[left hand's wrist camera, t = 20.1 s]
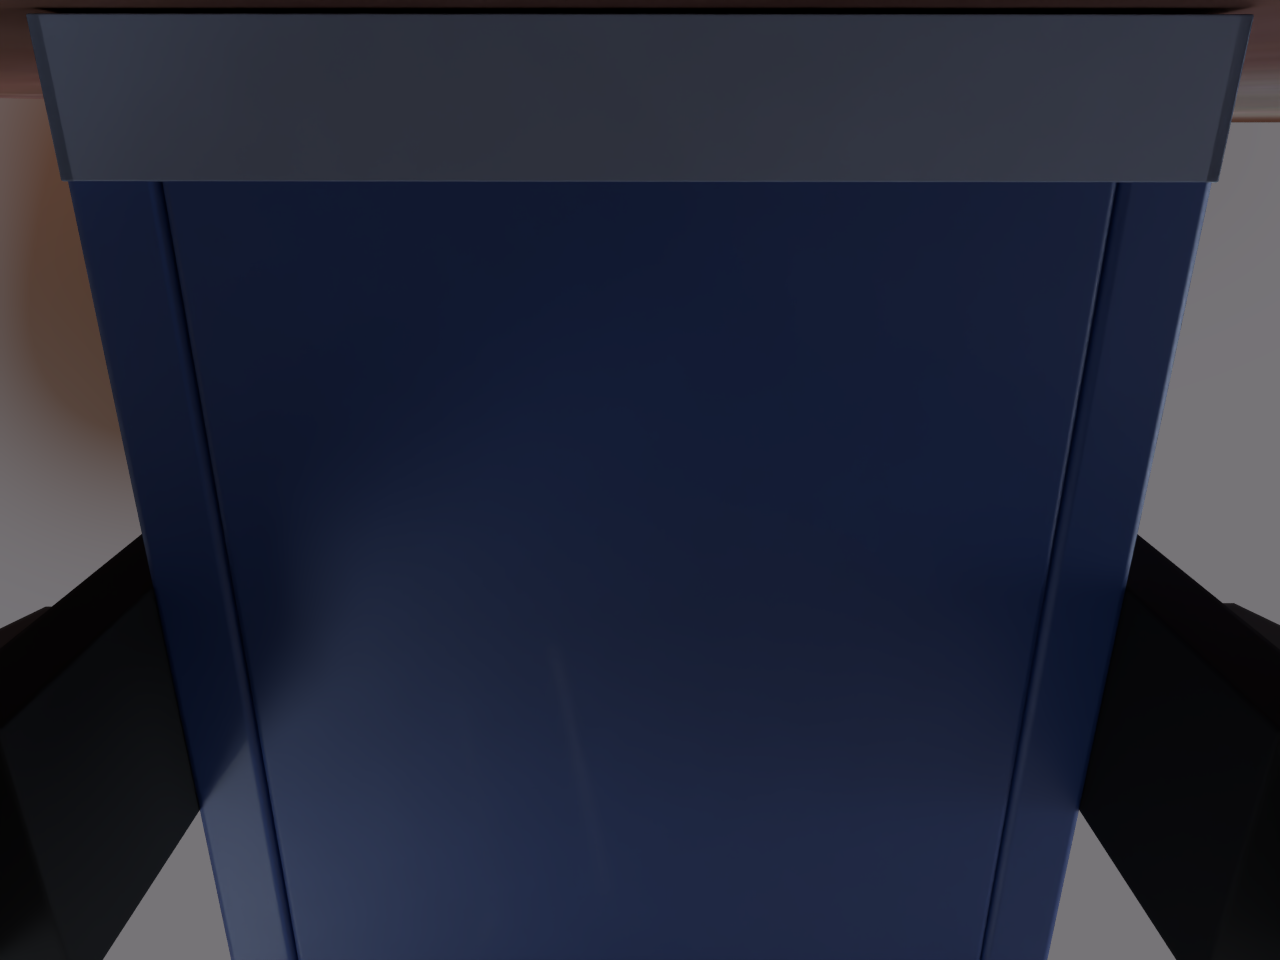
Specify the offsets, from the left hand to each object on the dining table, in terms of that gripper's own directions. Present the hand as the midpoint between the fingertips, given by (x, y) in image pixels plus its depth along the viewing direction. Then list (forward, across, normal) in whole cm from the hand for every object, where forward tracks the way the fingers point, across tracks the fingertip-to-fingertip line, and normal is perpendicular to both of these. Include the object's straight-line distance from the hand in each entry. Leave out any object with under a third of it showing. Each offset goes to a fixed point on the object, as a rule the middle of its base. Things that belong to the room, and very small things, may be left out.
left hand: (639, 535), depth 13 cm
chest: (+3, 0, -6) cm, 7 cm away
